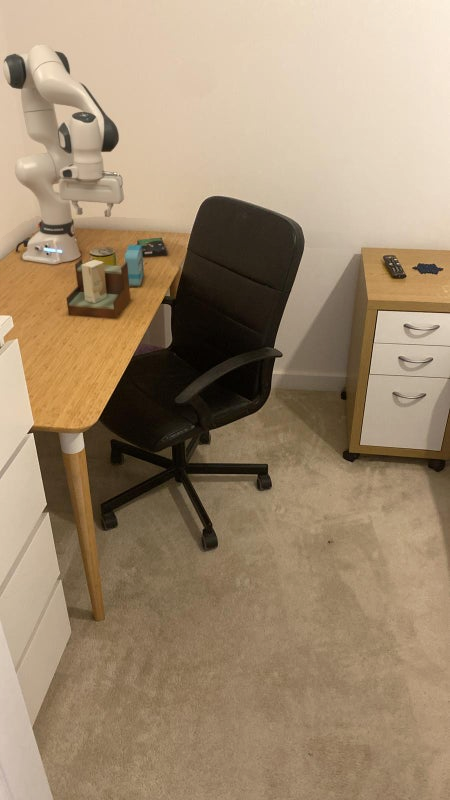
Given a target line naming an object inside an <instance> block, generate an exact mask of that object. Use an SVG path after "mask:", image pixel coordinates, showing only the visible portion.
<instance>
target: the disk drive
mask: <svg viewBox="0 0 450 800" xmlns="http://www.w3.org/2000/svg"><path fill="white" fill-rule="evenodd" d="M137 245H141V246H142V254H143V258H148V257H161V256H167V255H168V251H167V250H168V249H167V247H166V244H165V242H164V239H163V238H162V237H153V238H151V237H150V238H144V239H143V238H142V239H139V238H138V239H137Z"/></svg>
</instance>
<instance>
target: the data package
mask: <svg viewBox="0 0 450 800" xmlns="http://www.w3.org/2000/svg"><path fill="white" fill-rule="evenodd" d="M125 262H127V265H128V277H129V287H135V288H136V287H139V288H140V287H141V285H142V282H143V279H144V276H145V275H144V274H145V270H144V269H145V268H144V257H143V254H142V246H141V245H138V244H129V245H128V246H127V249H126V251H125V253H124V263H125Z"/></svg>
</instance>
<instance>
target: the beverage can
mask: <svg viewBox="0 0 450 800" xmlns="http://www.w3.org/2000/svg"><path fill="white" fill-rule="evenodd" d="M88 255H89V262H90V261H92V260H97V261H101V262H104V265H111V266H118V265H117V255H116V249H114V248H113V247H108V246H99V247H95V248H92V249H90V250H89V251H88Z"/></svg>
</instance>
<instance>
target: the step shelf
mask: <svg viewBox="0 0 450 800" xmlns="http://www.w3.org/2000/svg"><path fill="white" fill-rule="evenodd" d="M83 264H84V263H83V259H82V258H80V259H79V260H77V262H75V264H74V268H75V276H76V284H77V286H76V287H75V288H74V289H73V291H71V292H70V294H68V296H66V306H67V312H68V314H67V315H68V316H77V317H87V318H88V317H90V318H100V319H101V318H102V319H114V320H115V319H116V320H117V319H118V318H119V317H120V315H121V314H122V312H123V311H124V310H125V308H126V307H127V305H129V303H130V302H131V291H130V286H129V277H128V265H127V262H125V261H124V263H123V264H122V265H117V266H111V265H104V270H105V281H106V293H107V298H105V299H103V300H101V301H99V302H97V303H92V302H88V301H85V294H84V285H83V275H82V265H83Z"/></svg>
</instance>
